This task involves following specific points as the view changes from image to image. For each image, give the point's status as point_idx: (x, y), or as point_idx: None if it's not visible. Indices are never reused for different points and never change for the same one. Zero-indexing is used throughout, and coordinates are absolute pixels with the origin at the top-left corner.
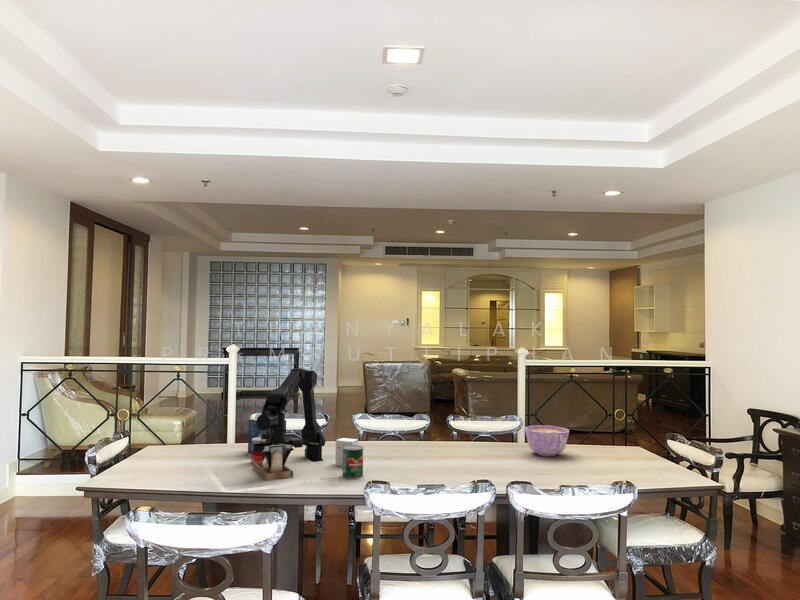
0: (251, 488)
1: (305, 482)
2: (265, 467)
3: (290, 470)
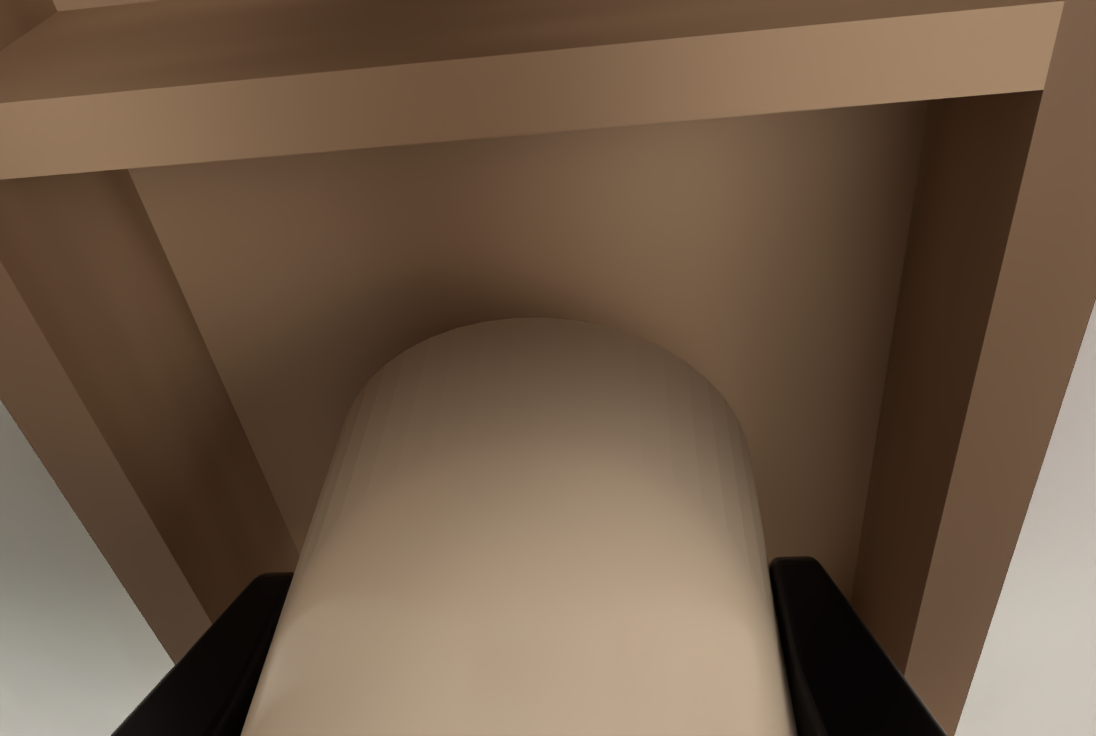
0: (55, 680)
1: (1038, 700)
2: (107, 139)
3: None
